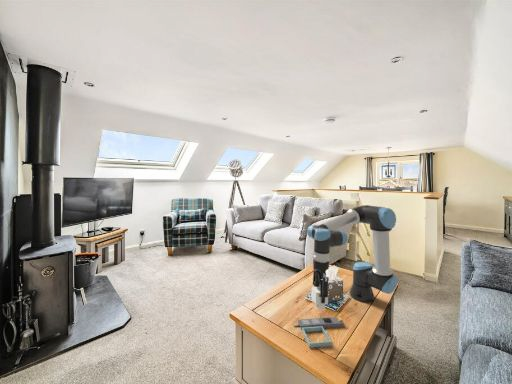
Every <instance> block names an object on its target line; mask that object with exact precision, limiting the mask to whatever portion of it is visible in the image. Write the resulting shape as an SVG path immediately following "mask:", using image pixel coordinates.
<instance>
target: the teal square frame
mask: <svg viewBox="0 0 512 384" xmlns="http://www.w3.org/2000/svg"><path fill="white" fill-rule="evenodd" d="M307 332H308V333H309V332H322V334H323V335H324V338H325V340H327V341H314V342H313V341H312V342H310V340H309V337H308V335H307V334H306V333H307ZM301 333H302V334H303V335H302V336H304V339H305V341H306V343H307V345H308V347H309V348H310V349H311V348H320V347H321V348H322V347H331V346H333V345H332V343H333V342H332V340H331V338H330V337H329V335H328V333H327V332H326V330H325V328H323V327H322V326H319V327H305V328H302V330H301Z"/></svg>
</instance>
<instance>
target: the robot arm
mask: <svg viewBox="0 0 512 384" xmlns="http://www.w3.org/2000/svg"><path fill="white" fill-rule="evenodd" d="M359 223H360V224H367V225H369V229H370V231H372V243H373V247H372V248H373V262H374V263H373V264H372V263H370V262H367V261H360V262H359V261H358V262H355V263H354V264H353V268H352V270H353V271H352V283H351V287H350V289H349V296H350V297H351V298H353V299H354V300H355V301H359V302H363V303H371V302H373V301H374V300H375V294H374V291H373V288H374V289H376V290H378V291H380V292H382V293H385V294H388V295H390V294H392V293H394V292H395V290H396V288H397V287H398V281H399V278H398V277H397V276H395V275H394V270H393V269H392V268H391V256H390V254H391V253H390V232H391V231H392V230H393V228H395V226H396V223H397V215H396V213H395V211H394V210H393V209H391V208H389V207H385V206H375V205H370V204H369V205H366V204H365V205H364V204H363V205H359V206H356V207H354V208H350V209H349V210H347V212H346V213H343V214H341V215H339V216H337V217H335V218H332V219H330V220H327V221H326V222H323V223H321V224H319V225H312V224H311V225H310V226H308V228H307V230H306V233H307V236H308V237H309V238H311V239H312V240H314V241H313V242H314V243H313V244H314V245H313V254H312V255H313V265H312V268H313V274H312V275H313V276H312V285H313V287H319V286H320V295H319V307H318V309H319V310H324V309H326V304H325V297H328V298H329V280H330V277H329V276H327V271H328V270H329V267H330V255H331V253H330V252H331V251H330V250H331V248H335V247H340V246H343V245H346V244H347V242H348V235H347V233H346V232H345V231H343V229H346V228H347V227H348V226H349V227H350V226H351V225H357V224H359ZM372 300H373V301H372ZM370 301H371V302H370Z"/></svg>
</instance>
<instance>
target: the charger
mask: <svg viewBox="0 0 512 384" xmlns="http://www.w3.org/2000/svg"><path fill="white" fill-rule="evenodd" d="M310 294H311V297H310V298H311V300H312V301H313V303H314V305H315V307H316V308H319V295H320V286H319V287H314V286H311V293H310ZM325 305H329V296H328V297H325Z"/></svg>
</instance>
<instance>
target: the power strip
mask: <svg viewBox="0 0 512 384" xmlns="http://www.w3.org/2000/svg"><path fill="white" fill-rule="evenodd" d="M319 326H322V327H323V328H324V329H328V328H342V327H345V323H344V320H343V319H342V318H341V317H340V316H332V317H331V316H330V317H317V318H304V319H303V318H301V319H300V318H299V319H297V325H295V324H294V325H293V327H294V328H300V330H301V331H302V328H305V327H319Z"/></svg>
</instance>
